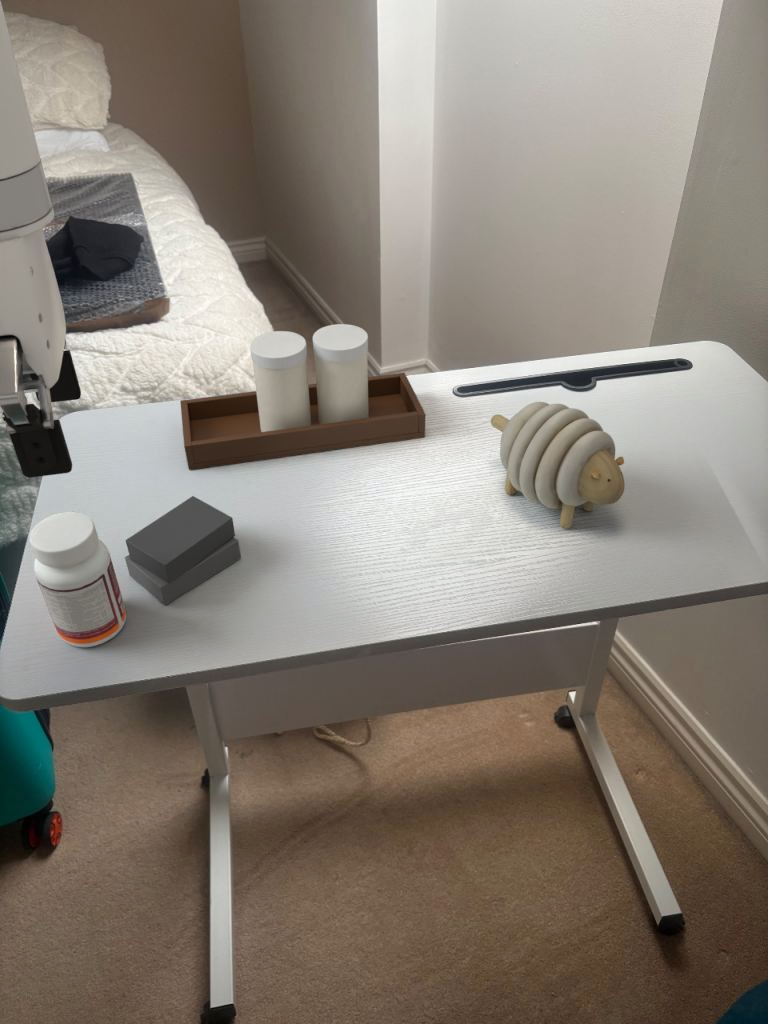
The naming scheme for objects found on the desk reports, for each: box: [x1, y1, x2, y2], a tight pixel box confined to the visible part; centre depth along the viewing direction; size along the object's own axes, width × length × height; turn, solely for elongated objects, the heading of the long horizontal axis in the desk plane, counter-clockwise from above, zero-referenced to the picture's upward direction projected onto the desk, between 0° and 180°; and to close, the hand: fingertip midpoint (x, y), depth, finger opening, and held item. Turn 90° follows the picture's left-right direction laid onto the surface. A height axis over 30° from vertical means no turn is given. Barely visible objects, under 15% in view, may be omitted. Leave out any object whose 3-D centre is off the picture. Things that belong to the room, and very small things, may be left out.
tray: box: [179, 372, 426, 471], centre depth 99 cm, size 28×10×3 cm, turn 103°
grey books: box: [124, 495, 242, 606], centre depth 80 cm, size 9×6×5 cm
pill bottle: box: [29, 511, 127, 648], centre depth 72 cm, size 6×6×11 cm
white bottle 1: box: [249, 330, 311, 432], centre depth 95 cm, size 6×6×11 cm
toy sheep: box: [490, 401, 626, 530], centre depth 86 cm, size 11×17×11 cm, turn 46°
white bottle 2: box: [312, 323, 369, 424], centre depth 96 cm, size 6×6×11 cm
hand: (55, 434), depth 61 cm, fingers open, 9 cm apart
